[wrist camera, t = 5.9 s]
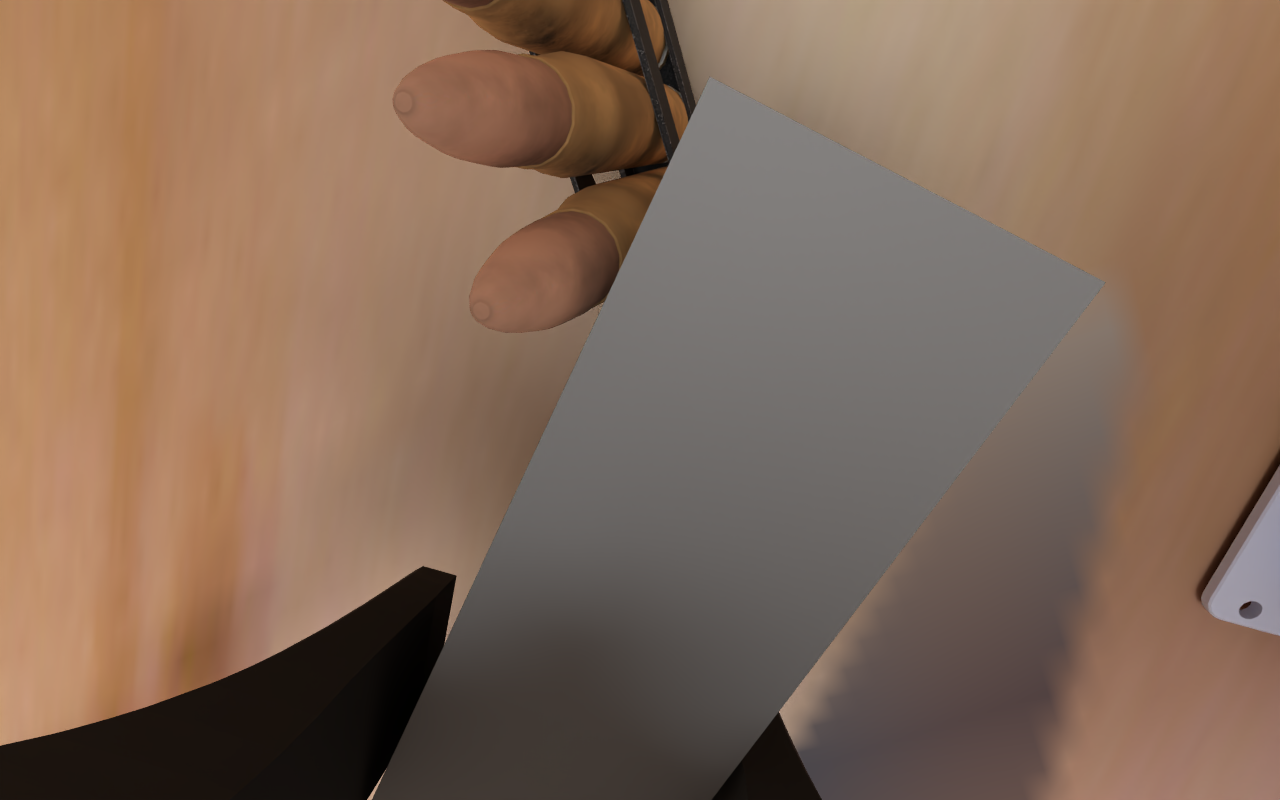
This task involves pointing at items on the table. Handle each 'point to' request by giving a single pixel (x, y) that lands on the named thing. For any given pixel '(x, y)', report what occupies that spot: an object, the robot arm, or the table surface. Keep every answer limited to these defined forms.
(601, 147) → the ammunition clip
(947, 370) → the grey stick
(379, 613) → the robot arm
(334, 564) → the table surface
